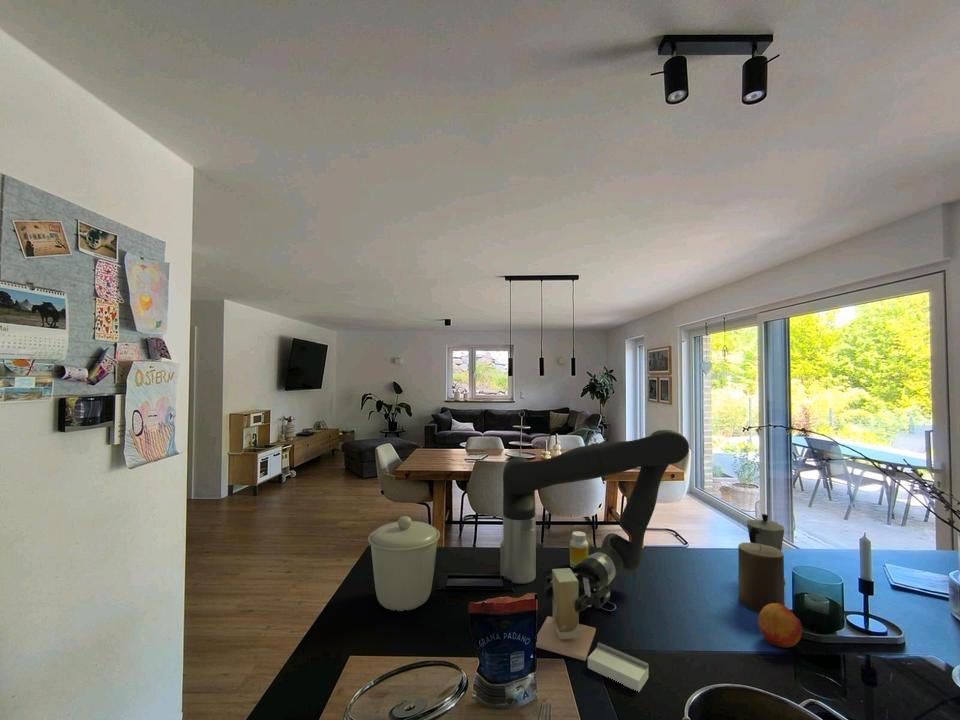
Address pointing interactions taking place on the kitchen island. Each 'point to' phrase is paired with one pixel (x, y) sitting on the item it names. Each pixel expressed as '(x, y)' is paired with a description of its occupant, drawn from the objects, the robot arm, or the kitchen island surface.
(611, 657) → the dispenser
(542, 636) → the coaster
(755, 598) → the pillar candle
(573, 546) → the supplement bottle
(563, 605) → the skincare box
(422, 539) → the canister
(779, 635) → the fruit
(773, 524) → the coffeepot
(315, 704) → the kitchen island surface
